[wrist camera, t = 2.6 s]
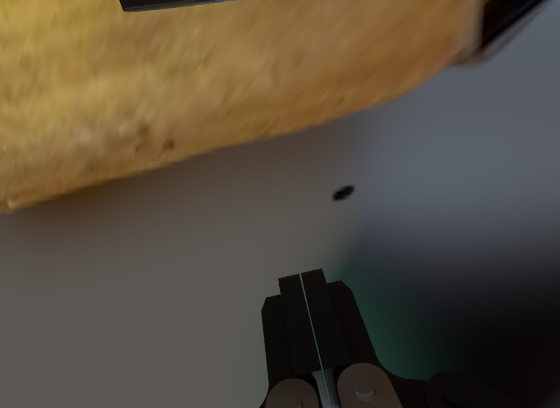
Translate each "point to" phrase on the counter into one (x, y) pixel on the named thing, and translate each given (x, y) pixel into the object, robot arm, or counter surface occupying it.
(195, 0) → the coffee box
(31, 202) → the counter surface
